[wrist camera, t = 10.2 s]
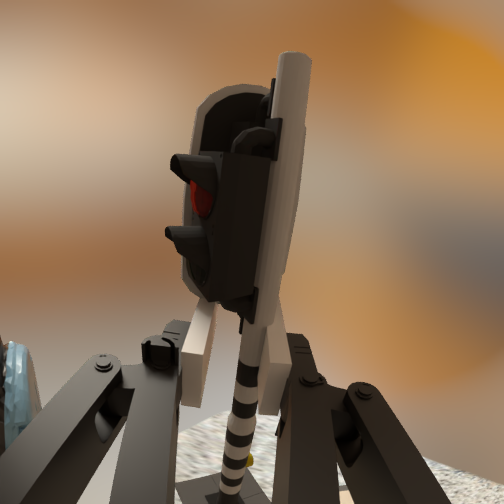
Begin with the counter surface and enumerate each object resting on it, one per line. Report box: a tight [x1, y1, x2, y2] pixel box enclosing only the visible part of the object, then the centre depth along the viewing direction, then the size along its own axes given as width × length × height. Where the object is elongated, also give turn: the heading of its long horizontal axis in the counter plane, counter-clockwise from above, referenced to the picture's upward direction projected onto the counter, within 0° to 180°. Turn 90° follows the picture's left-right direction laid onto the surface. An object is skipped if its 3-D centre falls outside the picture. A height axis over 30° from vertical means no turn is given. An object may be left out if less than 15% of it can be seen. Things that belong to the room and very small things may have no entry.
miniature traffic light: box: [165, 51, 312, 504], centre depth 14 cm, size 8×8×30 cm
